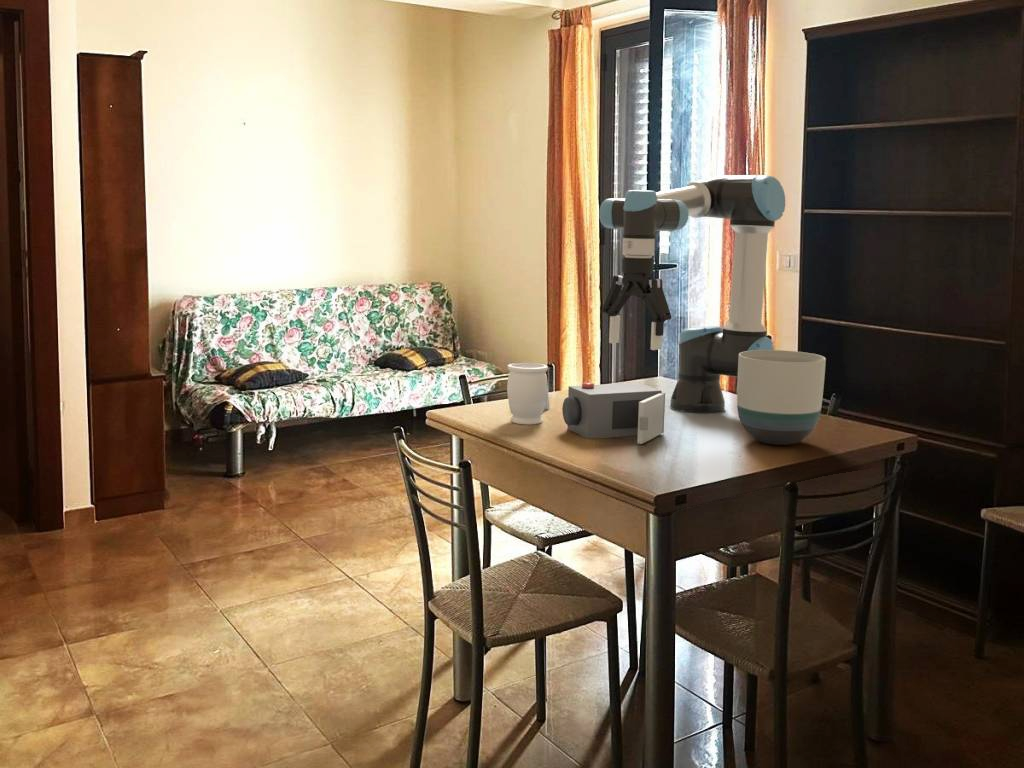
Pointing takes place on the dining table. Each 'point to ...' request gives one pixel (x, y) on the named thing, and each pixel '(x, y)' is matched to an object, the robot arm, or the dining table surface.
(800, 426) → the planter
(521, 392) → the jar
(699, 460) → the dining table surface
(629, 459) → the dining table surface
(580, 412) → the camera body
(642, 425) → the door
